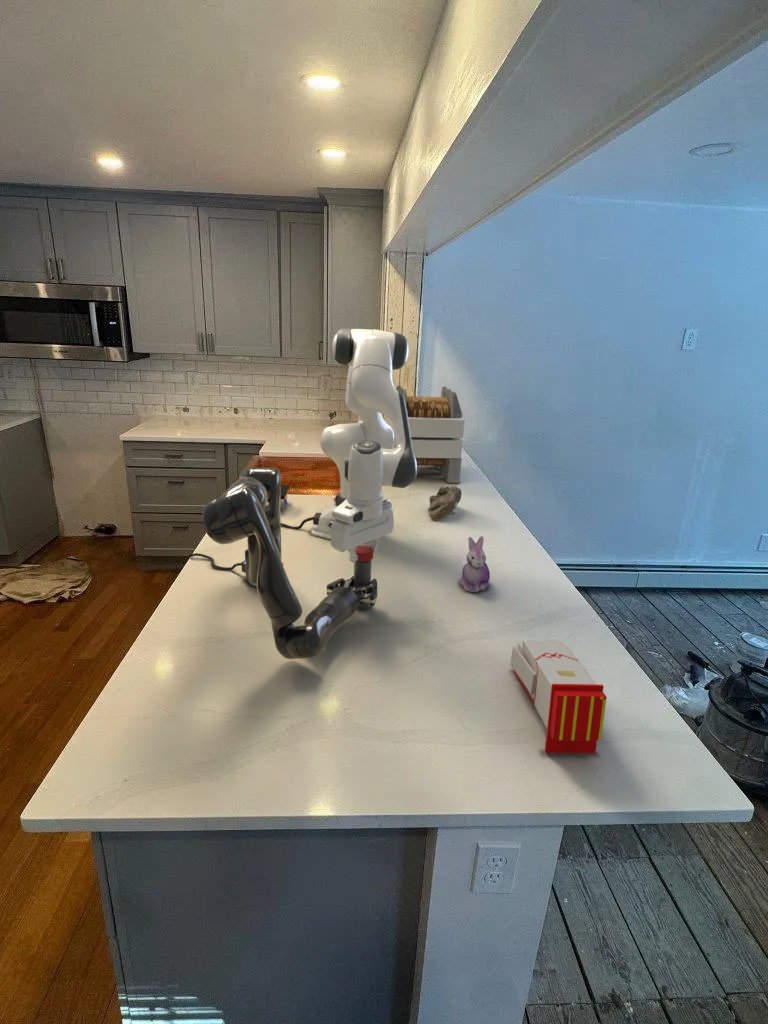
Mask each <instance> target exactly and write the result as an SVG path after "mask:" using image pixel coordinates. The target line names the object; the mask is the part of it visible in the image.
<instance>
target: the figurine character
mask: <svg viewBox="0 0 768 1024" xmlns="http://www.w3.org/2000/svg"><path fill="white" fill-rule="evenodd" d="M289 489H290V485H287V484H286V485H285V484H281V497H280V513H281V512H282V510H283V509H285V508H286V507H285V506H287V505H288V503H289V502H288V495H287V493H288V491H289ZM268 504H269V503H268V502H267V505H268Z"/></svg>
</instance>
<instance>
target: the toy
mask: <svg viewBox="0 0 768 1024" xmlns="http://www.w3.org/2000/svg"><path fill="white" fill-rule="evenodd" d="M510 666H511V667H512V669H513V673H514V674H515V676H516V677H517V680H518V681H519V682H520V684H521V686H522V687H523V689H524V690H525V692H526V694H527V696H528V697H529V699H530V700H531V702H532V703H533V705H534V707H535V710H536V711H537V713H538V714H539V717H540V718H541V720H542V722H543V724H544V726H545V728H546V734H545V735H546V736H545V745H544V752H545V754H596V752H597V743H598V742H601V741H602V737H603V729H604V720H605V713H606V705H607V695H606V693H605V692H604V687H605V686H604V685H603V684H598V683H597V682H596V681H595V679H593V677H592V676H591V674H589V672H588V671H587V670H586V668H585V666H583V664H582V663H581V662H580V661H579V660H578V658H577V656H576V655H575V654H574V653H573V651H572V650H571V649H570V648H569V646H568V645H567V644H566V643H565V642H564V641H563V640H539V639H538V640H537V639H536V640H535V639H534V640H533V639H532V640H530V639H529V640H528V639H523V640H522V641H517V643H516V646H512V652H511V659H510Z"/></svg>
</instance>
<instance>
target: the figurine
mask: <svg viewBox="0 0 768 1024" xmlns="http://www.w3.org/2000/svg"><path fill="white" fill-rule="evenodd" d="M467 539H468V551H467V553H466V563H465V564H464V565H463V567H462V571H461V580H460V584H461V586H462V587H463V589H464V590H465V591H466V592H470V593H478V592H479V591H480V592H481V591H484V590H486V589H487V588H488V586H489V583H490V578H491V573H490V569H489V566H488V564H487V563H486V561H487V555H486V553H485V551H484V549H483V547H484V540H485V539H484V535H481V536H480V537H478V539H477V541H476V542H475V540H474V539H473V537H471V536H468V538H467Z"/></svg>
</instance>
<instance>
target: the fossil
mask: <svg viewBox="0 0 768 1024" xmlns="http://www.w3.org/2000/svg"><path fill="white" fill-rule="evenodd" d="M428 499H429V500H428V501H429V507H428V508H427V511H428V512H429V513H428V515H429V516H430V518H431V520H434V521H439V520H443V519H446V518H447V517H448V516H449V515H450V514H454V513H455V512H454V510H456V509H457V507H458V504H459V503H460V502H461V500H462V490H461V488H459V487H457V486H451V487H449V486H446V487H444V486H440V487H439V489H438V492H437V493H436V494H435V495H431V496H429V498H428Z"/></svg>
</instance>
